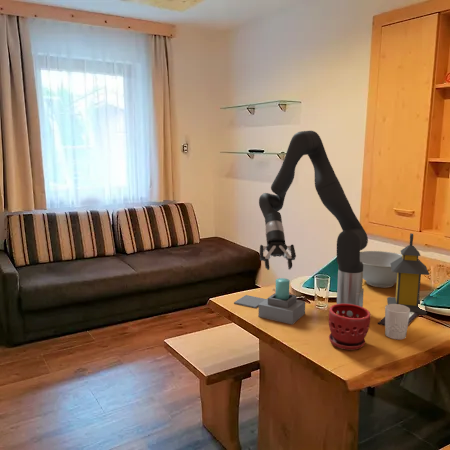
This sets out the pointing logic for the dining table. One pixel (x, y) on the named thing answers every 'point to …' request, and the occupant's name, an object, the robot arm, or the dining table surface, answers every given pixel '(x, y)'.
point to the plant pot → (348, 326)
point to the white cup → (396, 321)
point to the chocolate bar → (411, 318)
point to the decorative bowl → (379, 268)
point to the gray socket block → (282, 309)
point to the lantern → (408, 278)
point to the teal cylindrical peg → (282, 289)
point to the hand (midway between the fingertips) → (279, 268)
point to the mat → (249, 301)
